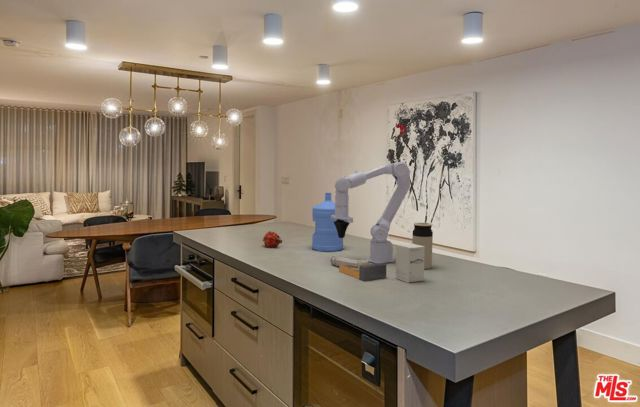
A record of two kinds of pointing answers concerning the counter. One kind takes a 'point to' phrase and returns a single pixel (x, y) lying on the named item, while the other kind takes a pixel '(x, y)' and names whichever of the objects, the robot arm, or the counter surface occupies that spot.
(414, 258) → the supplement box
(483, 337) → the counter surface
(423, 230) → the travel mug
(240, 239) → the counter surface
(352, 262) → the electric toothbrush
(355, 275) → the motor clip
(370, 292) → the counter surface
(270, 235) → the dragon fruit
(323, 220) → the water jug
